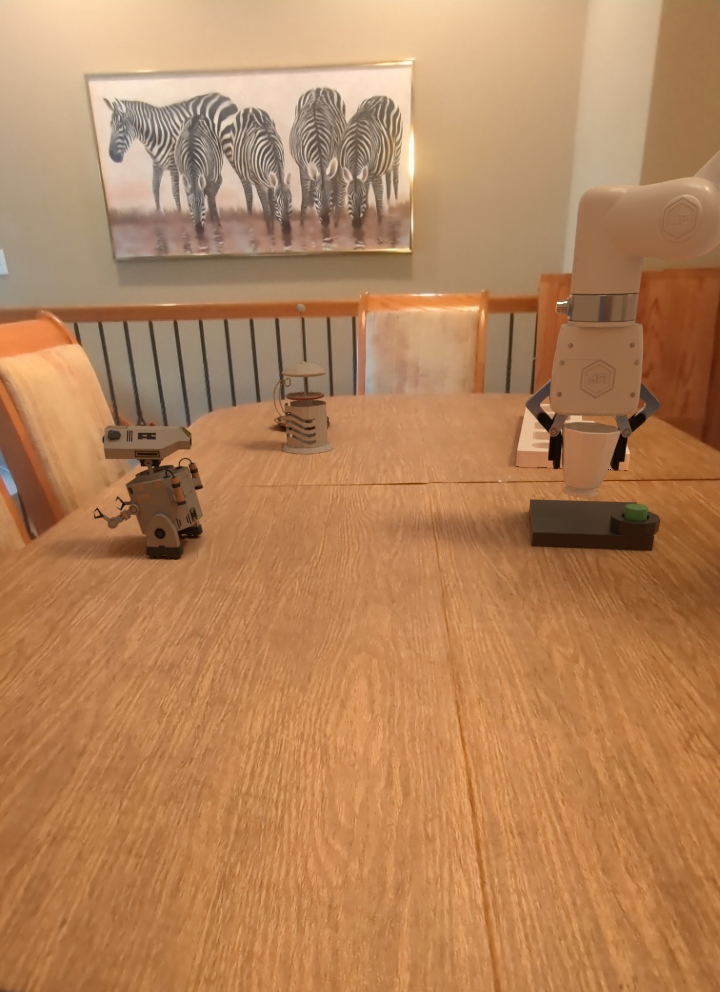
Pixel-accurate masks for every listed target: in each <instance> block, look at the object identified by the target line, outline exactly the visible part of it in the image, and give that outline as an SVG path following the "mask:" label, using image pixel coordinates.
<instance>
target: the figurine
mask: <svg viewBox="0 0 720 992" xmlns="http://www.w3.org/2000/svg"><path fill="white" fill-rule="evenodd" d="M192 435H193V434H192V432H191V431H189V430H188V429H187V428H186V427H184V426H181V425H180V426H171V425H163V426H162V425H155V423H154V422H150V423H149V424H148V425H107V426H106V427H105V428H104V435H102V439H101V441H102V444H103V453H104V458H105V460H136V461H139V465H140V467H141V468H144V467H145V468H146V467H147V468H146V469H145V470H141V471H140V472H138V473H136V474H135V476H134V477H135V478H133V479H132V480H130V481H128V482H127V483H125V487H126V490H127V493H128V495H129V496H128V497H129V499H130V500H128V501H127V500H126V501H123V499H121V498H120V496H116V499H115V501H114V502H118V501H119V502H120V503H121V506H120V507H119V506H116V509H118V510H119V511H120V512H119V514H117V515H116V516H112V517H108V516H107V515H106V514H104V513H103V512H102V511H101V510H100V509H99V507H96V508H95V510H93V519H94V520H96V519H103V520H105V521H106V522H107V527H108V528H109V529H111V530H114V529H116V528H117V527H118V526H119V524H121V523H123V522H124V521H125V522H126V521H128V520H130V519H131V518H132V516H136V520H137V522H138V525H139V528H140V531H141V534H142V535H145V537H146V538H145V539H146V546H145V555H146V556H148V557H149V558H150V559H154V558H156V559H161V558H162V557H163V556H164V557H165V558H166V559H168V560H170V559H172V558H173V559H174V560H176V559H178V558H179V557H181V556H182V555H183V554H184V549H183V548H184V547H183V545H182V544H181V542H180V538H181V537H182V536H183V535H184V536H186V537H187V538H191V537H193V538H197V537H198V536H200V535H202V533H204V532H203V526H202V524H200V523H201V522H200V519H201V518H202V517H203V516H204V515H203V510H202V507H201V505H200V501H199V497H198V493H197V491H198V490H202V489H204V485H203V484H202V480H201V477H200V473H199V469H198V466H197V463H196V462H192V460H191V459H190V458H188V457H183V458H181V459H179V461H178V465H177V466H174V465H173V464H164V465H161V464H162V462H163V461H164V460H165V458H167V457H169V456H171V455H172V454H174V453H175V452H178V451H179V450H181V451H182V450H187V451H188V450H189V451H190V450H191V449H192V446H193V437H192ZM184 460H188V461H189V464H188V466H186V465H185V466H184V465H181V462H182V461H184ZM125 506H128V509H124V507H125ZM123 509H124V510H123ZM96 512H98V515H97V516H96Z"/></svg>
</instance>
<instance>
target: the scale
mask: <svg viewBox="0 0 720 992" xmlns="http://www.w3.org/2000/svg"><path fill="white" fill-rule="evenodd" d="M628 504H638V502H636V501H608V500H607V501H606V500H605V501H604V500H603V501H601V500H571V499H569V500H568V499H536V498H535V499H533V498H532V499H531V498H529V507H528V518H529V531H530V542H531V543H530V544H531V547H533V548H535V547H536V548H537V547H538V548H539V547H540V548H560V549H561V548H564V549H590V550H592V549H593V550H613V551H614V550H616V551H617V550H619V551H643V552H644V551H645V552H652V551H653V546H654V540H655V535H656V534H657V533H659V530H660V524H661V517H660V515H659V514H656V513H654V512H651V511H648V514H647V520H642V521H641V520H630V519H625V518H624V513H625V506H626V505H628Z"/></svg>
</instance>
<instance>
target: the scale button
mask: <svg viewBox="0 0 720 992" xmlns="http://www.w3.org/2000/svg"><path fill="white" fill-rule="evenodd" d="M648 512H649V506H648V505H645V504H641V503H637V504H628V505H626V506H625V513H624V518H625V519H630V520H641V521H642V520H647V514H648Z"/></svg>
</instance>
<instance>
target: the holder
mask: <svg viewBox="0 0 720 992" xmlns="http://www.w3.org/2000/svg"><path fill="white" fill-rule="evenodd" d="M540 406H541V408H542V409H543V410H544V411H545V412H546V413H547V414H548V415H549V417H550V418H551V419H552V418H553V416H554V414H555V412H554V411H552V409H551V407H550V403H540ZM524 410H525V411H524V416H523V419H522V424H521V430H520V434H519V439H518V445H517V449H516V458H515V459H516V460H515V461H516V462H515V467H516V466H519V467H518V468H537V467H547V468H546V469H554V468H553V461H548V451H549V440H550V434H549V433H548V432H547V431H546V429H545V428H544V427H543V426H542V425H541V424H540V423H539V422H538V420H537V419H536V418H535V417H534V416H533V415H532V413H531V412H530V411H529V410H528V409H527V407H526V406H525V409H524ZM572 422H591V423H596V421H595V420H583V416H571V415H569V416H568V417H567V419H566V421H565V423H564V424H567V423H572ZM561 434H562V428H561ZM628 446H629V445H627V447H626V454H625V461H624V462H620V463H619V469H618V470H617V471H624V470H627V471H628V470H629V465H630V458H631V452H630V449H629V447H628ZM559 469H562V451H561V461H560V468H559ZM608 469H609V470H608V471H614V470H613V469H612V468H611V466H610V465H609V468H608ZM610 469H611V470H610Z"/></svg>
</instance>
